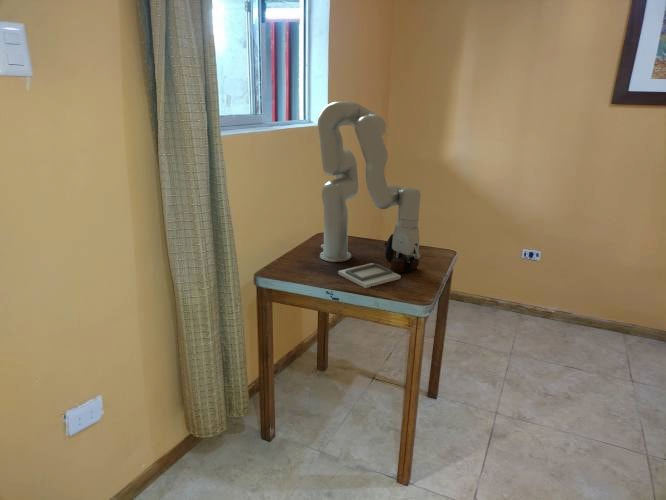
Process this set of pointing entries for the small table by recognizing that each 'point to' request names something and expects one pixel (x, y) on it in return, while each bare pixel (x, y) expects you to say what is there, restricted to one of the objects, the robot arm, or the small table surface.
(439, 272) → the small table surface
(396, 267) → the brick
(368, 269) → the baseplate
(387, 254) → the gaming controller
